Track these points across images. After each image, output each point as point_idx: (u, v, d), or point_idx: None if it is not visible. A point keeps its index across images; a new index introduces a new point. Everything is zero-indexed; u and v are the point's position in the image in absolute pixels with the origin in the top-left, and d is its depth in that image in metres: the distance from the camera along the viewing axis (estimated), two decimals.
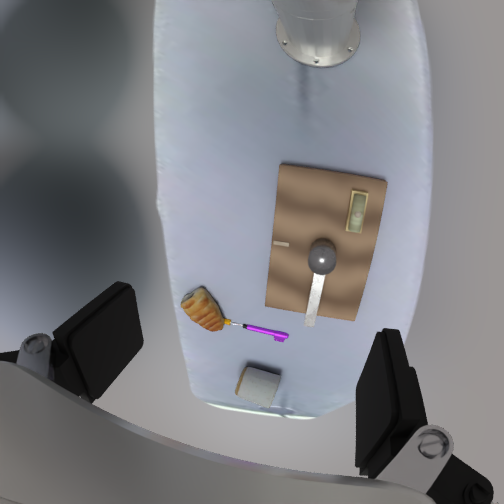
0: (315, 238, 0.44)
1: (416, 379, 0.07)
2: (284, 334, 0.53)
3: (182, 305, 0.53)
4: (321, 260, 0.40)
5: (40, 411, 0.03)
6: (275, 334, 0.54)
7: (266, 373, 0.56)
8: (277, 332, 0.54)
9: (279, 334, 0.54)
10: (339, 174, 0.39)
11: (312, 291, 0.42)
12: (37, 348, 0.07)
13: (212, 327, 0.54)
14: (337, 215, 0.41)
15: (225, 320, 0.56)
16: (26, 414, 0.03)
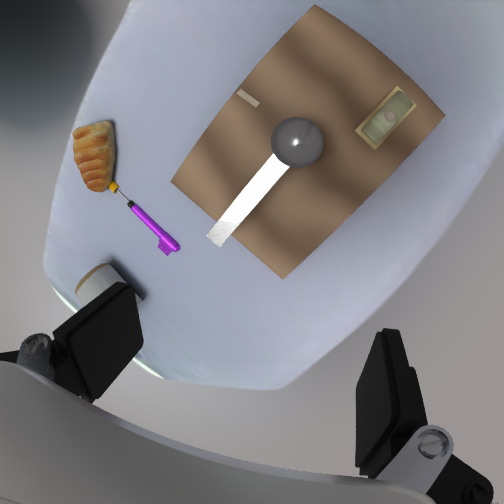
0: None
1: (416, 379, 0.07)
2: (174, 244, 0.35)
3: (74, 132, 0.29)
4: (297, 138, 0.21)
5: (40, 411, 0.03)
6: (162, 237, 0.34)
7: None
8: (166, 236, 0.35)
9: (167, 240, 0.34)
10: (389, 60, 0.20)
11: (251, 184, 0.23)
12: (37, 348, 0.07)
13: (91, 182, 0.32)
14: (353, 106, 0.22)
15: (112, 183, 0.34)
16: (26, 414, 0.03)
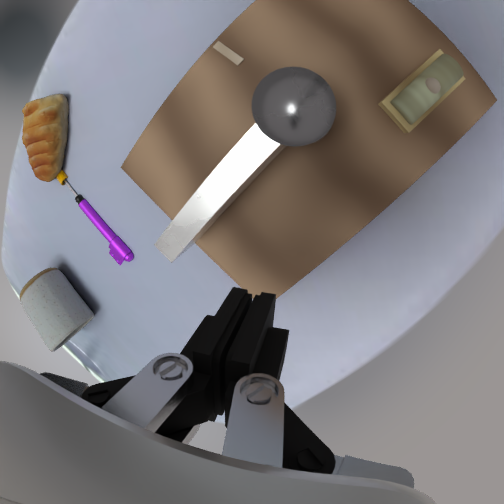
0: None
1: (286, 340, 0.09)
2: (126, 251, 0.26)
3: (24, 108, 0.20)
4: (294, 100, 0.12)
5: (40, 411, 0.03)
6: (112, 242, 0.26)
7: (73, 297, 0.28)
8: (117, 240, 0.26)
9: (118, 246, 0.26)
10: (426, 18, 0.11)
11: (219, 170, 0.15)
12: (173, 371, 0.07)
13: (37, 169, 0.23)
14: (378, 71, 0.14)
15: (60, 173, 0.25)
16: (26, 414, 0.03)
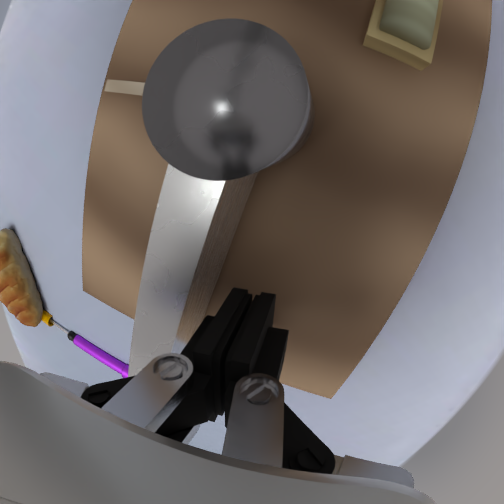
0: None
1: (286, 340, 0.09)
2: None
3: None
4: (215, 83, 0.06)
5: (40, 411, 0.03)
6: (123, 374, 0.20)
7: None
8: None
9: None
10: None
11: (151, 265, 0.08)
12: (173, 372, 0.07)
13: (19, 317, 0.19)
14: (335, 0, 0.07)
15: (42, 314, 0.21)
16: (26, 414, 0.03)
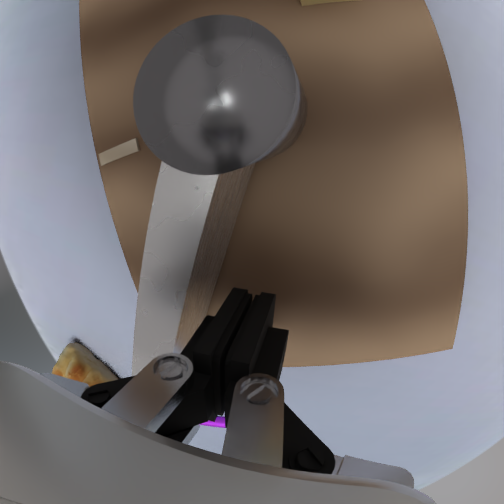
0: None
1: (286, 340, 0.09)
2: None
3: None
4: (203, 78, 0.06)
5: (40, 411, 0.03)
6: None
7: None
8: None
9: None
10: None
11: (149, 263, 0.08)
12: (173, 372, 0.07)
13: None
14: None
15: None
16: (26, 414, 0.03)
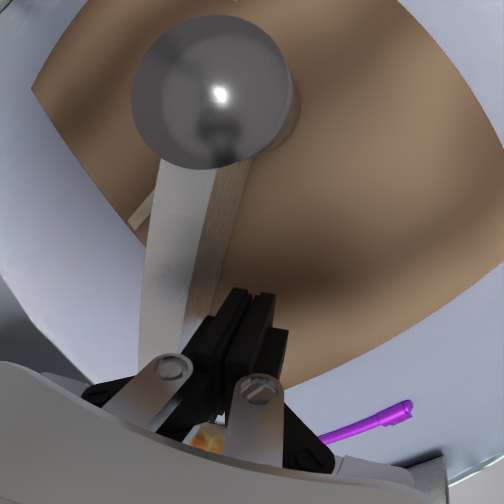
0: None
1: (286, 340, 0.09)
2: (399, 409, 0.16)
3: None
4: (198, 77, 0.06)
5: (40, 411, 0.03)
6: (381, 422, 0.16)
7: (412, 476, 0.17)
8: (382, 415, 0.17)
9: (389, 416, 0.16)
10: None
11: (151, 260, 0.08)
12: (173, 372, 0.07)
13: None
14: (185, 5, 0.09)
15: None
16: (26, 414, 0.03)
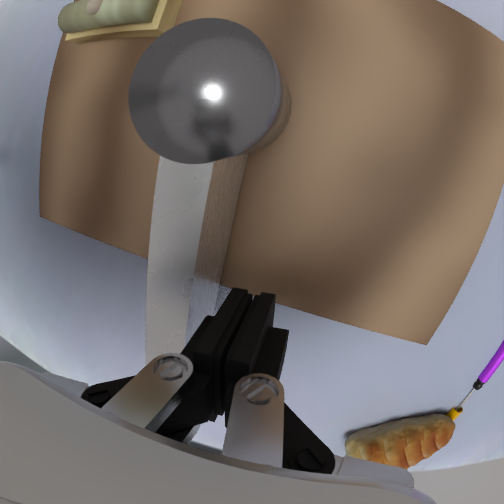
0: None
1: (286, 340, 0.09)
2: None
3: None
4: (192, 77, 0.06)
5: (40, 411, 0.03)
6: None
7: None
8: None
9: None
10: (52, 78, 0.11)
11: (155, 256, 0.09)
12: (173, 372, 0.07)
13: (440, 444, 0.15)
14: (131, 65, 0.10)
15: None
16: (26, 414, 0.03)
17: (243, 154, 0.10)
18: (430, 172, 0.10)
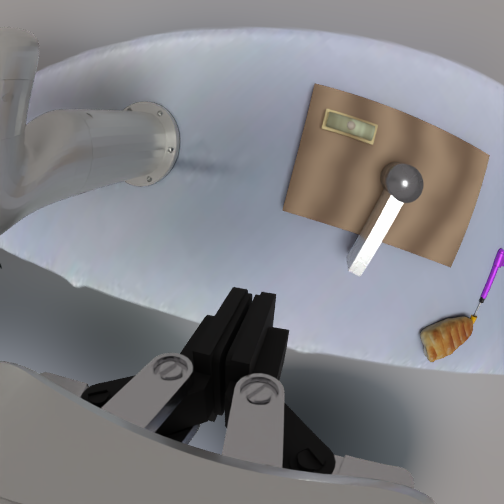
0: (379, 184, 0.31)
1: (286, 340, 0.09)
2: (499, 254, 0.30)
3: (431, 360, 0.36)
4: (406, 181, 0.26)
5: (40, 411, 0.03)
6: (497, 265, 0.31)
7: None
8: (495, 262, 0.31)
9: (498, 260, 0.30)
10: (302, 140, 0.31)
11: (379, 222, 0.28)
12: (173, 372, 0.07)
13: (467, 332, 0.34)
14: (354, 151, 0.30)
15: None
16: (26, 414, 0.03)
17: None
18: (449, 202, 0.29)
